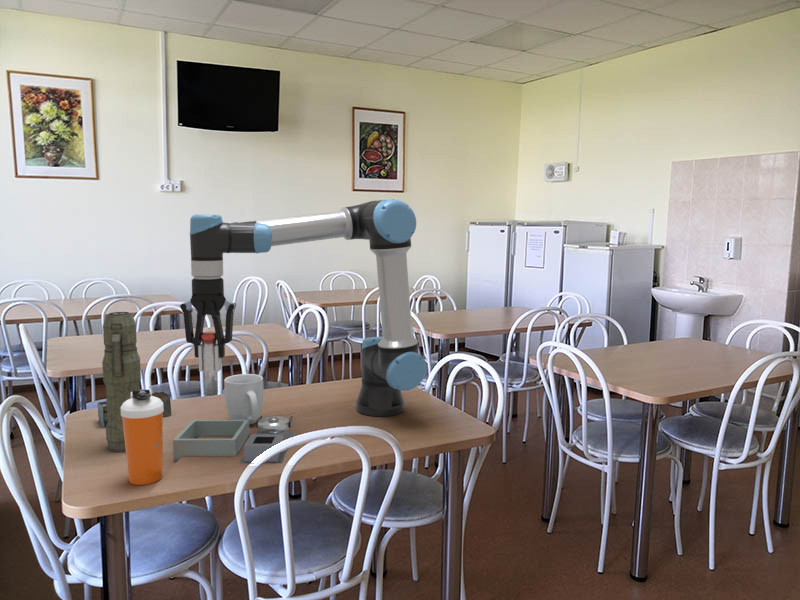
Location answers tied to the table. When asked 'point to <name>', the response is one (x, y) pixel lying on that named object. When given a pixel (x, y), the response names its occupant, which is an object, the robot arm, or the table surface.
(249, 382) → the mug
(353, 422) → the table surface
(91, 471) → the table surface
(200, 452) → the rectangular frame
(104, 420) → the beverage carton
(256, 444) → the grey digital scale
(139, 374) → the thermos
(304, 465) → the table surface
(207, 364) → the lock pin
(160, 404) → the shaker bottle
